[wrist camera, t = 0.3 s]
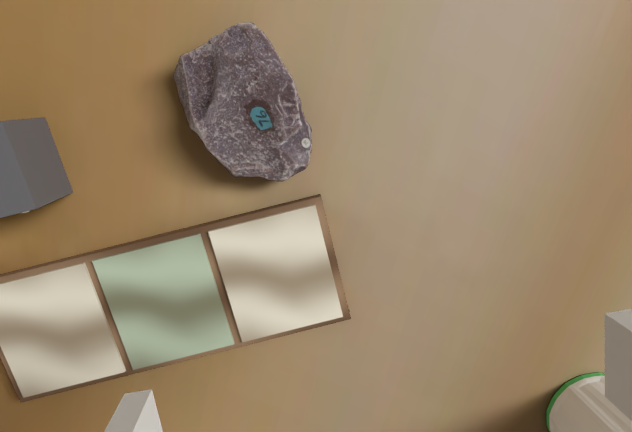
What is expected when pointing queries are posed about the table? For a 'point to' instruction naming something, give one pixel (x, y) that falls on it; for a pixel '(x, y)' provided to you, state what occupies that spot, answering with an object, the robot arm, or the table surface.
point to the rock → (245, 105)
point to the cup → (585, 408)
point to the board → (169, 298)
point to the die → (29, 167)
